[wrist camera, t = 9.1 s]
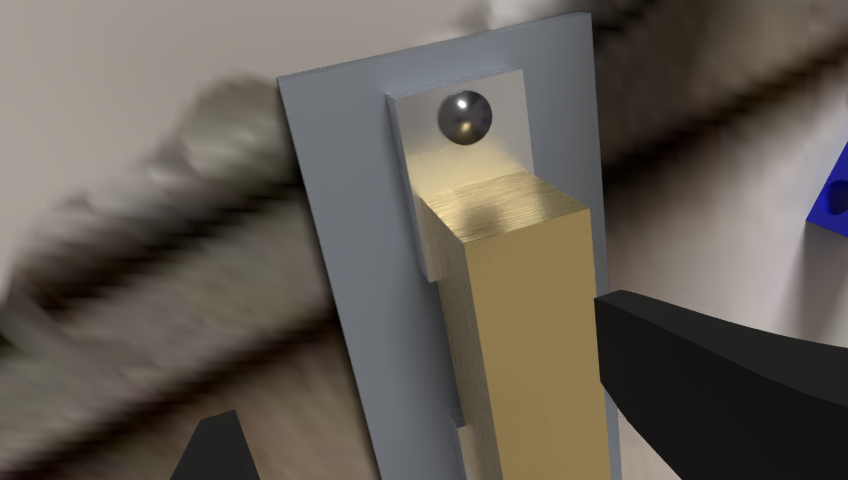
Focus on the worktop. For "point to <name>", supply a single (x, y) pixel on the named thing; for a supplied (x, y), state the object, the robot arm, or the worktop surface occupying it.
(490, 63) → the slate board
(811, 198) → the worktop surface
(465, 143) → the mounting blocks
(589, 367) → the link bar
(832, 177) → the cable clip
